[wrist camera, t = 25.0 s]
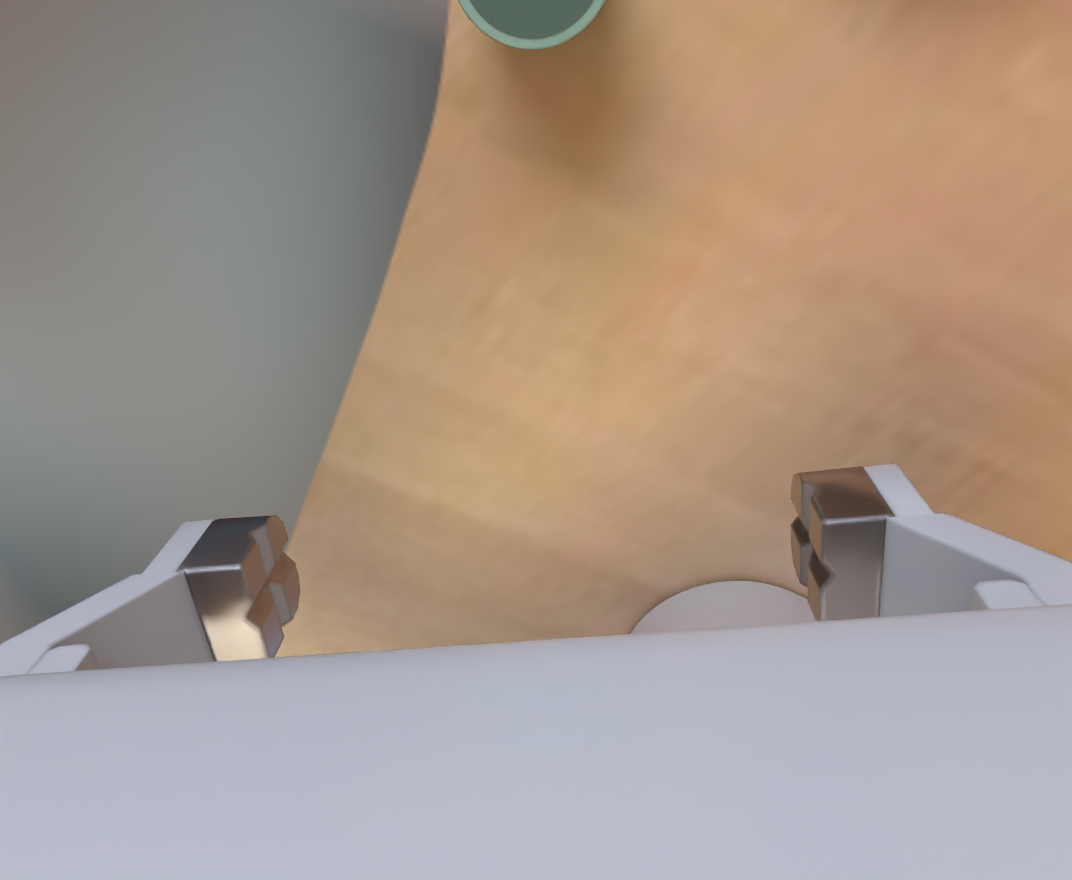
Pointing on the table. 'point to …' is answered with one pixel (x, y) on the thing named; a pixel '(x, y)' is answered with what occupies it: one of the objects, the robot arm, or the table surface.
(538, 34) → the tumbler
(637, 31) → the table surface
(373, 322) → the table surface
